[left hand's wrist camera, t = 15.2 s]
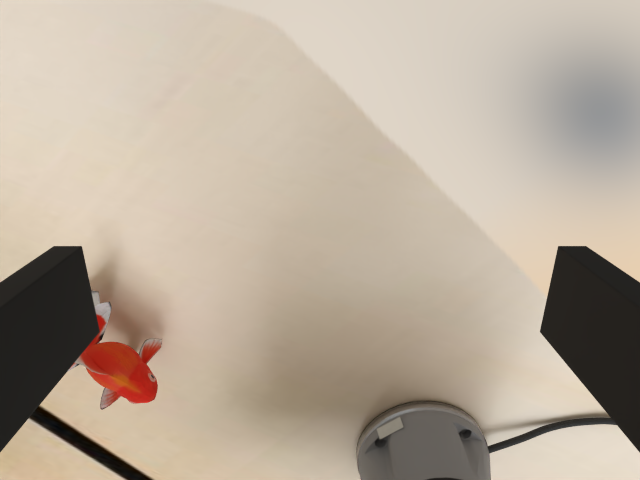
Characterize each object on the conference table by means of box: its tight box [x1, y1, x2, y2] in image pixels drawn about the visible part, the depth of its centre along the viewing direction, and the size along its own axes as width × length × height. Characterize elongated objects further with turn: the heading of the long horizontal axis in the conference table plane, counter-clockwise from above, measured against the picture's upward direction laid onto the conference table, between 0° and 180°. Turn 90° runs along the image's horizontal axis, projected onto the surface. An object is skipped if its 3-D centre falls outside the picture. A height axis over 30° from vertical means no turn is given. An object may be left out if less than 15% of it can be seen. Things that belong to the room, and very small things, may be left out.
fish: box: [68, 291, 162, 409], centre depth 43 cm, size 11×16×10 cm
